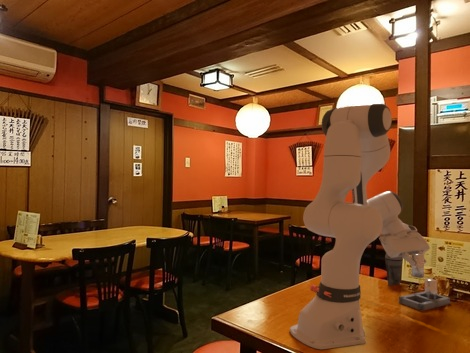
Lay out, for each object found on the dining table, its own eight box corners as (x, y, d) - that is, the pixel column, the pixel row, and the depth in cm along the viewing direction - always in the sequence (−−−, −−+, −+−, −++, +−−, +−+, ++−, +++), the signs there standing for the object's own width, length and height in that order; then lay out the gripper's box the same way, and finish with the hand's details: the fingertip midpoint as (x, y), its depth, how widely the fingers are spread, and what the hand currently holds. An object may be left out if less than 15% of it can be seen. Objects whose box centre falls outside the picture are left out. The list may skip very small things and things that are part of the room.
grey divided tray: (421, 313, 118) (421, 305, 118) (398, 305, 126) (398, 297, 126) (449, 306, 125) (449, 298, 125) (426, 298, 133) (426, 290, 133)
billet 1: (419, 278, 121) (419, 255, 121) (409, 275, 125) (409, 253, 125) (426, 276, 123) (426, 254, 123) (416, 274, 127) (416, 252, 127)
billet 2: (432, 304, 124) (432, 282, 125) (422, 300, 128) (422, 279, 128) (439, 302, 126) (439, 280, 126) (429, 299, 130) (429, 277, 130)
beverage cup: (404, 288, 146) (405, 241, 146) (386, 286, 147) (386, 240, 148) (400, 283, 153) (400, 238, 153) (382, 282, 154) (383, 237, 155)
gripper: (382, 229, 125) (405, 262, 117) (418, 226, 135) (442, 256, 126) (372, 239, 129) (394, 272, 121) (407, 236, 139) (431, 265, 130)
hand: (419, 264), depth 123 cm, fingers closed on billet 1, 4 cm apart
